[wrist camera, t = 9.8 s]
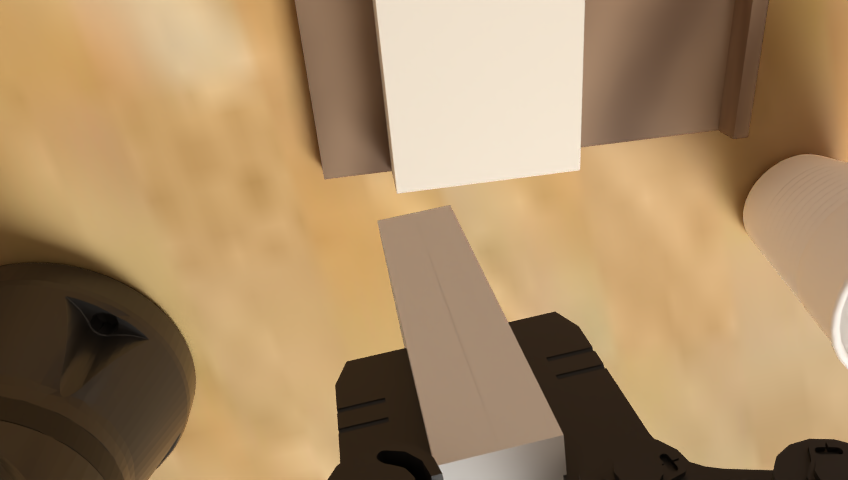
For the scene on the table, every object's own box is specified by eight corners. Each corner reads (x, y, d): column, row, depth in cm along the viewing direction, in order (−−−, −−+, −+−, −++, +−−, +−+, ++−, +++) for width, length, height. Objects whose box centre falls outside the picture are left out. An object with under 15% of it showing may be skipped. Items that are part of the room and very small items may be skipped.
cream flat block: (391, 170, 34) (397, 194, 31) (365, -62, 29) (369, -58, 26) (560, 149, 35) (580, 170, 32) (564, -81, 30) (588, -80, 27)
